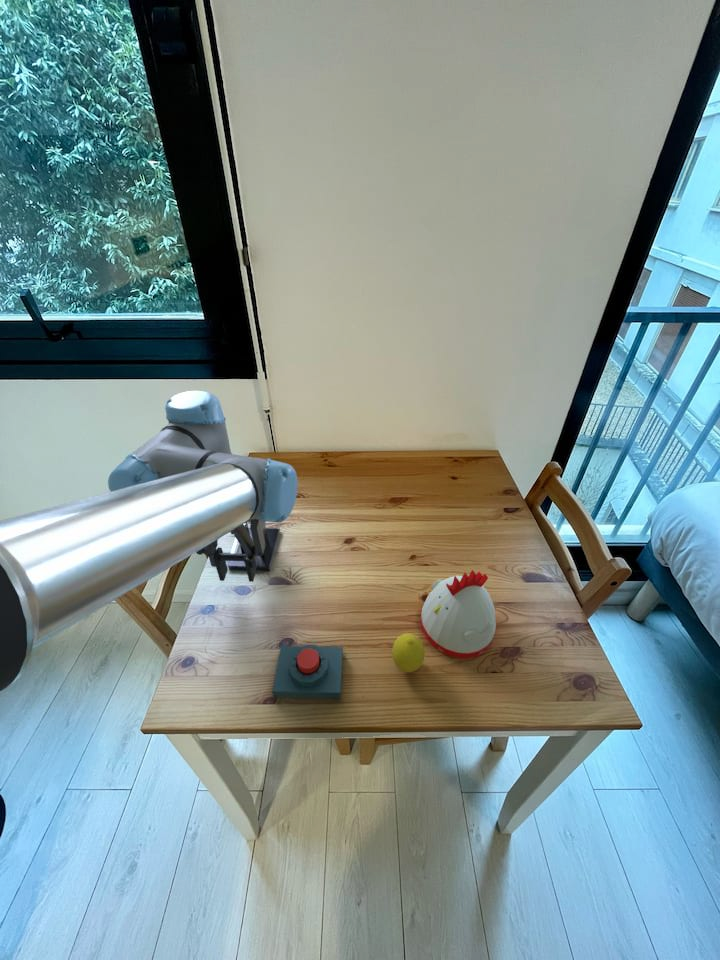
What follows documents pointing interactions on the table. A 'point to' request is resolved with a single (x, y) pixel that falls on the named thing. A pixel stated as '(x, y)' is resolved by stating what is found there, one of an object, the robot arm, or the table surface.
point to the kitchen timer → (459, 616)
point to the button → (308, 661)
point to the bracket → (267, 558)
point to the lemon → (408, 652)
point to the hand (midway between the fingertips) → (238, 575)
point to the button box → (309, 685)
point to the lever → (233, 552)
